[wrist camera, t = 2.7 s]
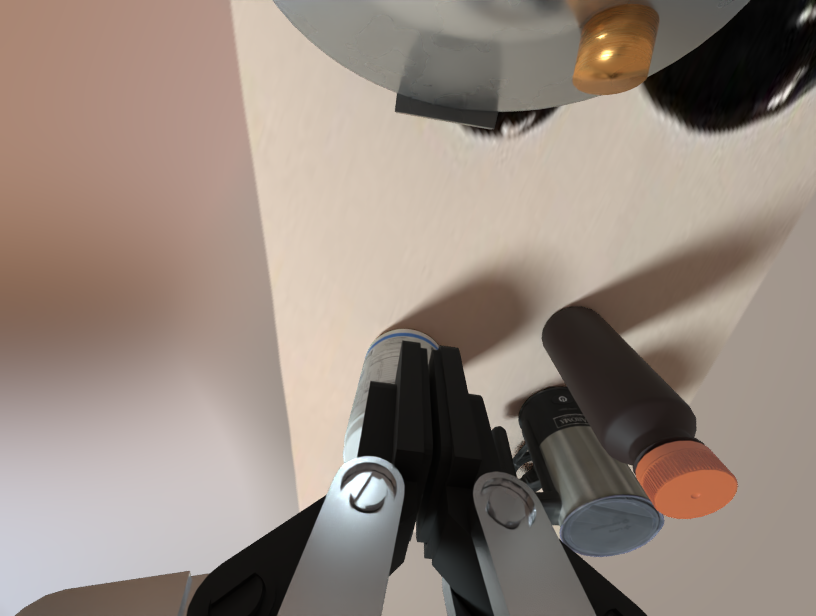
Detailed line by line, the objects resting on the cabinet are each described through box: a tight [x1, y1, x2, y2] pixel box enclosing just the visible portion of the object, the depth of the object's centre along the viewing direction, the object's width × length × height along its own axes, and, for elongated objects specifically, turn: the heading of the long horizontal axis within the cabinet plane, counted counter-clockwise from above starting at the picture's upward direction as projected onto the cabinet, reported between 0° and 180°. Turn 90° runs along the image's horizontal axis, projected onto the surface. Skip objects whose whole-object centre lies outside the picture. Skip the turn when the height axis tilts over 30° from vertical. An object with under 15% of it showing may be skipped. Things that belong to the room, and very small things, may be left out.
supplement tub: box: [343, 329, 439, 463], centre depth 35 cm, size 10×10×15 cm
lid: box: [273, 0, 750, 111], centre depth 12 cm, size 16×16×3 cm
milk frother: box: [492, 387, 664, 557], centre depth 40 cm, size 14×16×15 cm
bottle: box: [542, 307, 738, 519], centre depth 31 cm, size 7×7×20 cm
